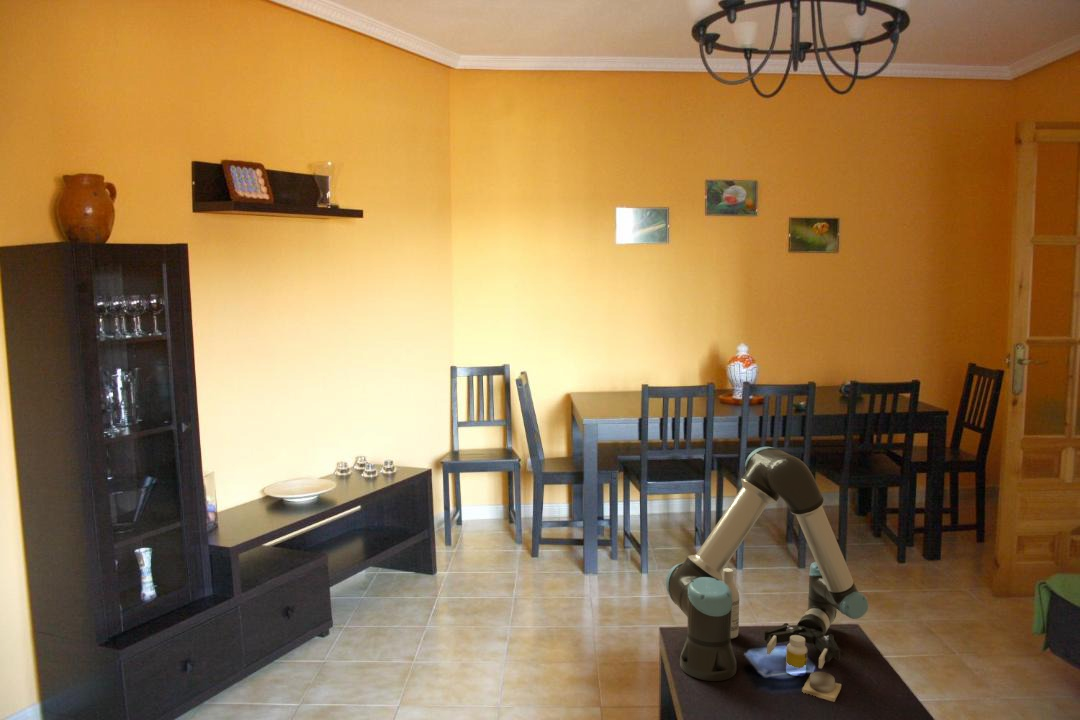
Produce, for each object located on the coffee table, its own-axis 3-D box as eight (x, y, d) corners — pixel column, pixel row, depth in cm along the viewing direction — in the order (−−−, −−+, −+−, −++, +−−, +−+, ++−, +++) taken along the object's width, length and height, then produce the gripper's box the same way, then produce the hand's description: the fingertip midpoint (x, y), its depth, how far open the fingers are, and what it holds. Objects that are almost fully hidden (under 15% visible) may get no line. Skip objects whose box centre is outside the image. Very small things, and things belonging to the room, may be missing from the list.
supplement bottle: (807, 678, 205) (809, 643, 204) (786, 676, 206) (788, 641, 205) (804, 668, 210) (806, 634, 209) (784, 666, 211) (785, 632, 210)
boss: (802, 692, 198) (802, 679, 198) (809, 679, 205) (810, 666, 204) (834, 702, 194) (835, 688, 193) (841, 687, 200) (841, 675, 200)
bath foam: (738, 630, 233) (740, 567, 231) (737, 640, 226) (739, 575, 224) (715, 627, 235) (717, 564, 233) (713, 637, 228) (715, 572, 226)
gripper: (858, 650, 216) (842, 683, 199) (769, 628, 230) (747, 657, 212) (859, 624, 216) (843, 655, 198) (770, 603, 229) (748, 631, 211)
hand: (793, 656), depth 205 cm, fingers open, 13 cm apart
